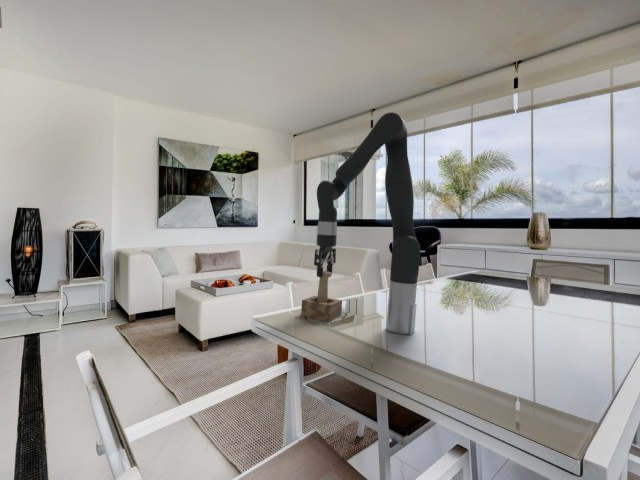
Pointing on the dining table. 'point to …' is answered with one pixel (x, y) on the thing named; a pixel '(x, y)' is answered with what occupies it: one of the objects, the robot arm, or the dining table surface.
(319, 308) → the brown wooden open box
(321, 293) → the handle
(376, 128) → the robot arm
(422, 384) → the dining table surface
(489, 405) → the dining table surface
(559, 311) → the dining table surface
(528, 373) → the dining table surface
